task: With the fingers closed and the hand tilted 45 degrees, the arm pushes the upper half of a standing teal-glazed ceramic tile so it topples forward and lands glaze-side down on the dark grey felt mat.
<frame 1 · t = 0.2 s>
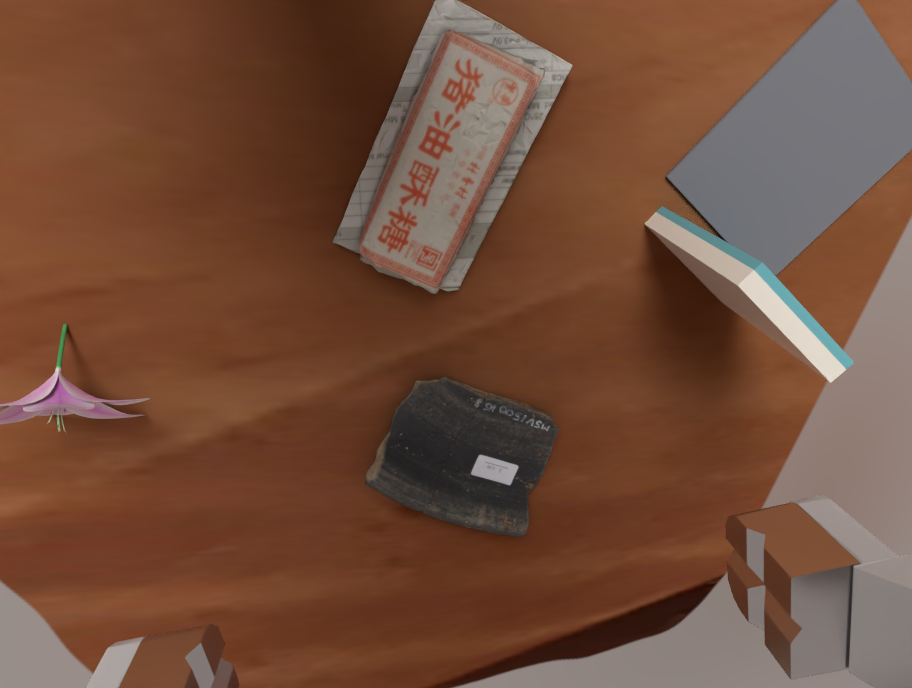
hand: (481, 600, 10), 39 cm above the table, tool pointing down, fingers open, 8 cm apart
mat: (801, 149, 48), on the table
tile: (692, 256, 51), on the table
lily: (83, 373, 49), on the table
pottery fragment: (466, 442, 56), on the table
packaged product: (446, 153, 46), on the table
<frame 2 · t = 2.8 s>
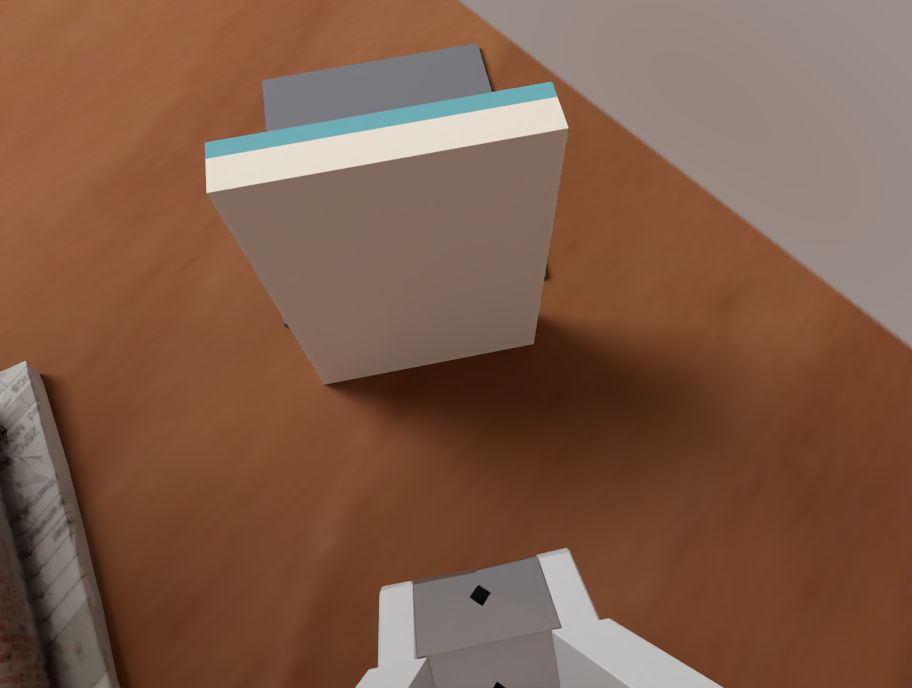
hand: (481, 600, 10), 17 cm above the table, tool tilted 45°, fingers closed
mat: (391, 171, 35), on the table
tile: (426, 347, 31), on the table
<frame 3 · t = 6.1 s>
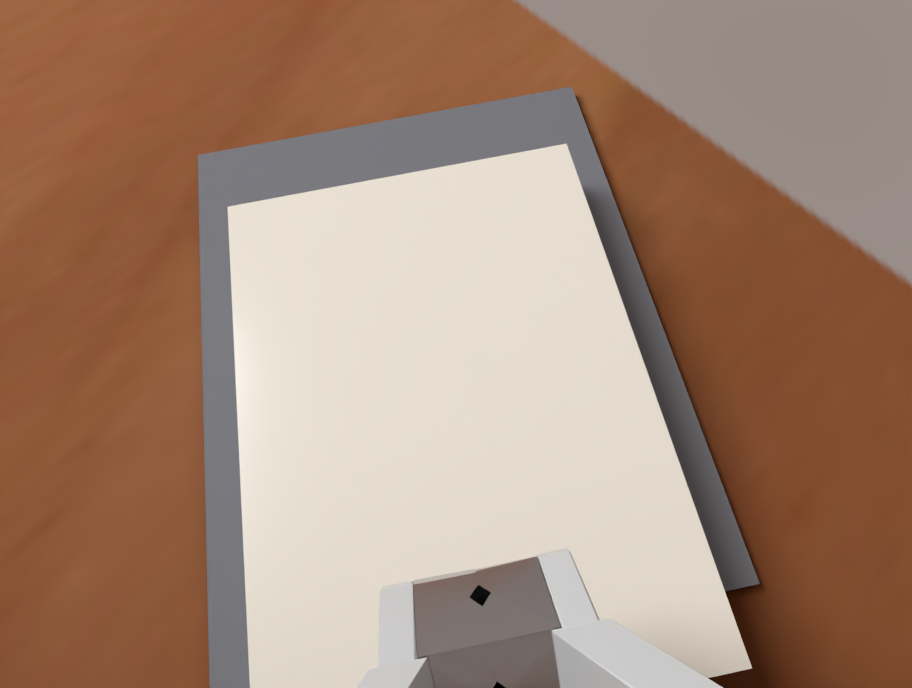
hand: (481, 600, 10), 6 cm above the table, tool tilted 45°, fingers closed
mat: (429, 335, 19), on the table
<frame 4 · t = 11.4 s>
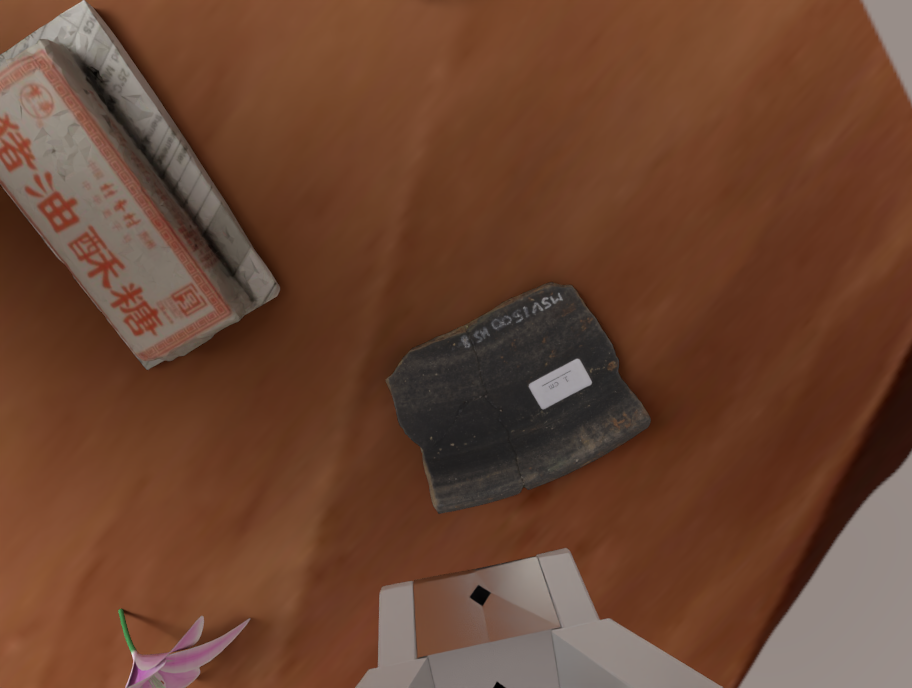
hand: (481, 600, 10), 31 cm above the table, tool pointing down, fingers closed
lily: (177, 630, 47), on the table
pottery fragment: (509, 384, 44), on the table
packaged product: (129, 199, 38), on the table
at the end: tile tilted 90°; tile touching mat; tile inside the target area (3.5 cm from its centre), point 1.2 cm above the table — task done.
